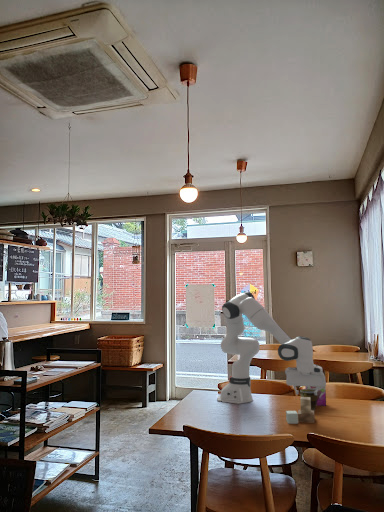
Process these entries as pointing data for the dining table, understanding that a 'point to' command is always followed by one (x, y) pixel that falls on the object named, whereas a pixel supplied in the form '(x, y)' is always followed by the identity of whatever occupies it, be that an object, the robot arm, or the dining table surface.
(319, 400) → the candy bar box
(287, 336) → the robot arm
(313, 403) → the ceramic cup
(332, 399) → the dining table surface
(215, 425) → the dining table surface
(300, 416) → the walnut pedestal
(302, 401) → the oak block
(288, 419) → the grey green block
